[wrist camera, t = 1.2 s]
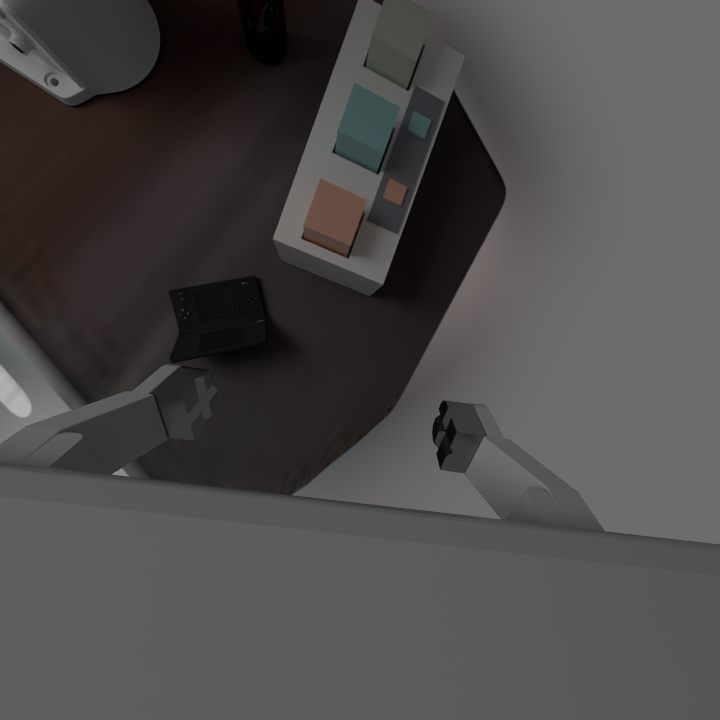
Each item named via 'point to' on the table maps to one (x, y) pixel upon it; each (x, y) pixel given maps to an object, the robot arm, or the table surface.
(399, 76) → the sage green key
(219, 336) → the handheld gaming console
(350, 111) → the teal key
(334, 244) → the terracotta key
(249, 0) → the soda can
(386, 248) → the keypad
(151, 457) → the table surface
